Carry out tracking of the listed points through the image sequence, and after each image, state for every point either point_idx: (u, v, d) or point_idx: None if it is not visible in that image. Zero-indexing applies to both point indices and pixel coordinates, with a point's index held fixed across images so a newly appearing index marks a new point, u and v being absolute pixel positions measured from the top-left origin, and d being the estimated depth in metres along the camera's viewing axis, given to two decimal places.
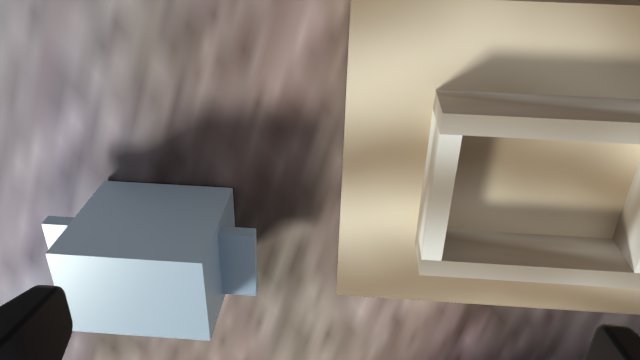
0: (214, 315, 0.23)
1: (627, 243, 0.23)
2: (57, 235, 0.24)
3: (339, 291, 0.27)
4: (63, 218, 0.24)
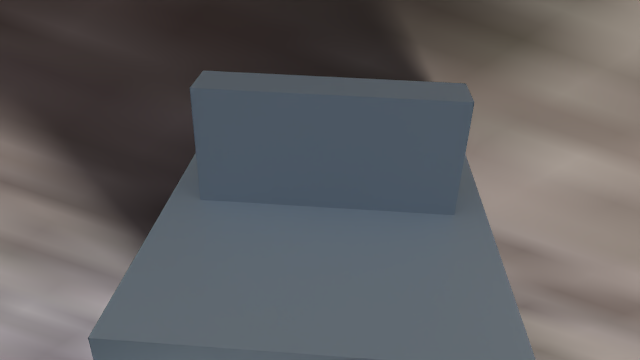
0: (461, 296, 0.06)
1: None
2: None
3: None
4: None
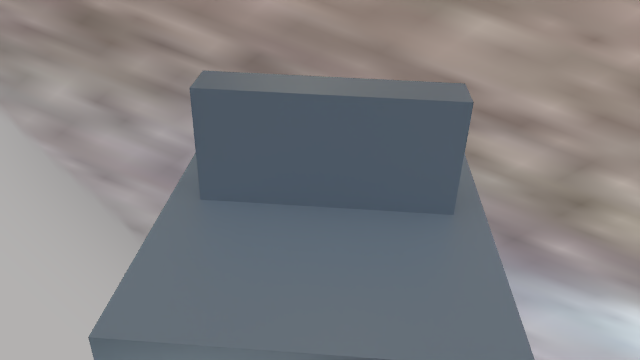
0: (461, 295, 0.06)
1: None
2: None
3: None
4: None
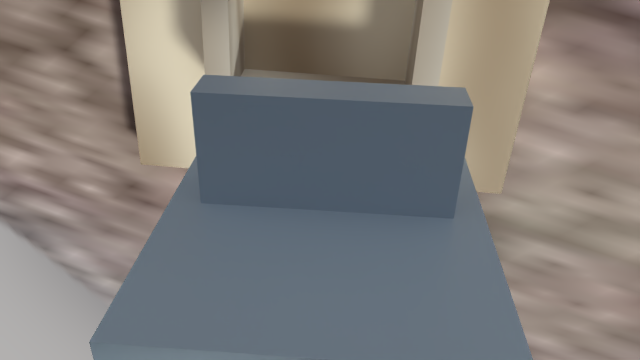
0: (461, 300, 0.06)
1: None
2: None
3: (496, 189, 0.21)
4: None
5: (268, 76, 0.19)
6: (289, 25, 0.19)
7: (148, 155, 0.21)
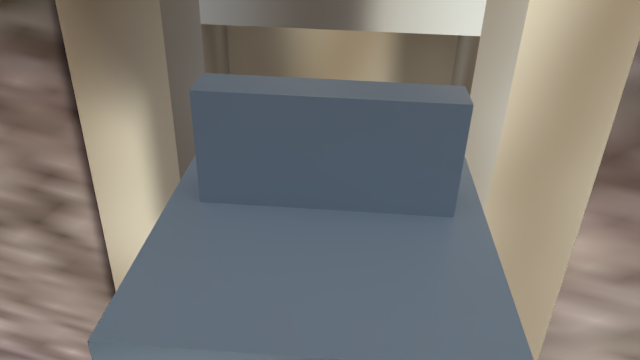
0: (461, 299, 0.06)
1: None
2: None
3: None
4: None
5: None
6: None
7: None
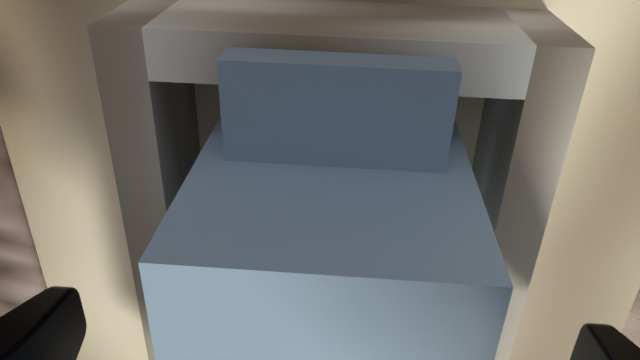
0: (450, 234, 0.07)
1: None
2: None
3: None
4: None
5: None
6: None
7: None
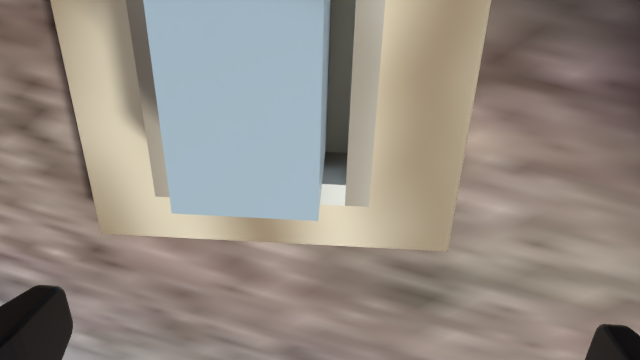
0: None
1: None
2: None
3: (442, 247, 0.22)
4: None
5: None
6: None
7: (107, 225, 0.22)
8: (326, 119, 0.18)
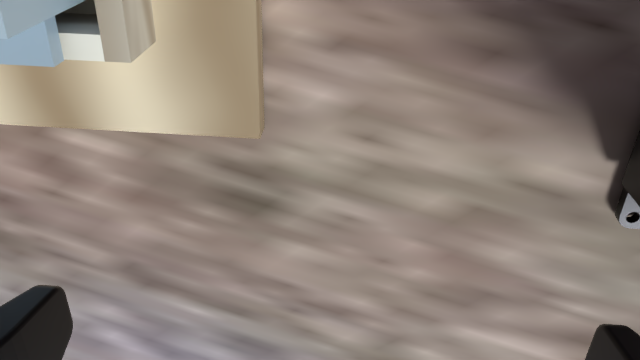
0: None
1: None
2: None
3: (254, 134, 0.20)
4: None
5: None
6: None
7: None
8: None
